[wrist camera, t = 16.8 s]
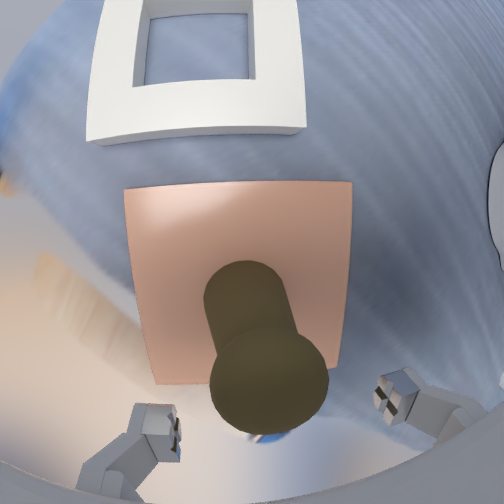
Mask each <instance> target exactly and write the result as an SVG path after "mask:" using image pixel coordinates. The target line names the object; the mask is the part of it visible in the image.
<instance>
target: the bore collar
mask: <svg viewBox="0 0 504 504" xmlns="http://www.w3.org/2000/svg"><path fill="white" fill-rule="evenodd" d="M214 13H240V14H247V23H248V61H249V79H221V80H197V81H183V82H172V83H162V84H154V85H146V86H144V77H145V64H146V53H147V43H148V34H149V27H150V19H155V18H162V17H171V16H180V15H193V14H214ZM305 128H307V123H306V102H305V86H304V72H303V59H302V48H301V37H300V28H299V19H298V10H297V2H296V0H105V2H104V6H103V10H102V14H101V18H100V23H99V27H98V32H97V37H96V42H95V48H94V54H93V61H92V68H91V75H90V84H89V94H88V107H87V125H86V142H90V143H94V144H97V145H101V146H108V145H114V144H121V143H128V142H135V141H143V140H152V139H161V138H172V137H184V136H199V135H221V134H284V135H294V134H296V133H297V132H299V131H301V130H303V129H305Z"/></svg>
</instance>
